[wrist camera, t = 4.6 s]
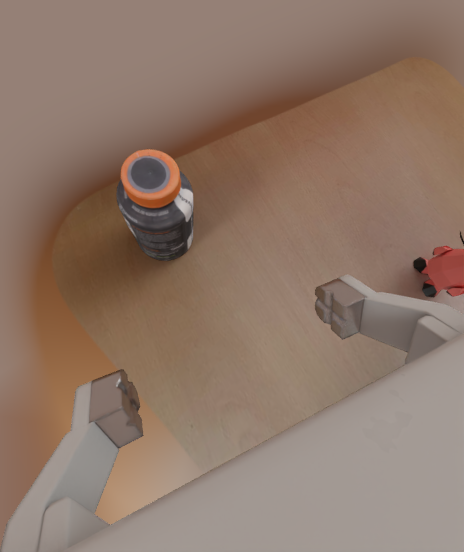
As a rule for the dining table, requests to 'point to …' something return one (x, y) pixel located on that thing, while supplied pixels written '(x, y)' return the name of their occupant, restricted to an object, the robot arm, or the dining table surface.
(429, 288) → the cat figurine
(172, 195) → the pill bottle
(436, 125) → the dining table surface
